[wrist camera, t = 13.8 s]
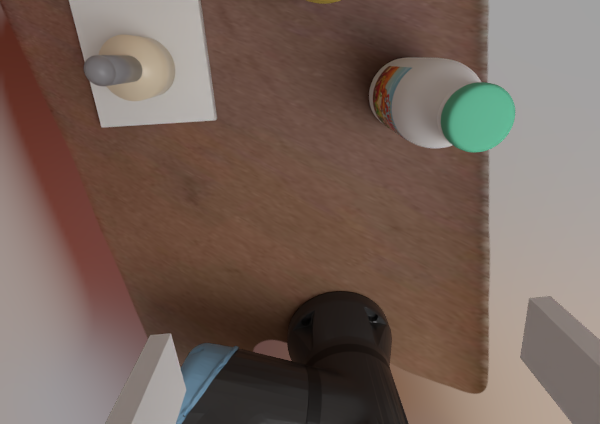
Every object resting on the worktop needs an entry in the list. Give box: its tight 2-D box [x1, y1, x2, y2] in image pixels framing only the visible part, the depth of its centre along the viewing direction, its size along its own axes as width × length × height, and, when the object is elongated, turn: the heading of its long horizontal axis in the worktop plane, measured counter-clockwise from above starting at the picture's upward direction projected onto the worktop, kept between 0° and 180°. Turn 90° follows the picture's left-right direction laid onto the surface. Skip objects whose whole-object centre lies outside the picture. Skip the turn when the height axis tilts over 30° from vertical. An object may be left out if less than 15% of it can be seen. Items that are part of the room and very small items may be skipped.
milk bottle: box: [369, 58, 515, 152], centre depth 34 cm, size 8×8×20 cm
